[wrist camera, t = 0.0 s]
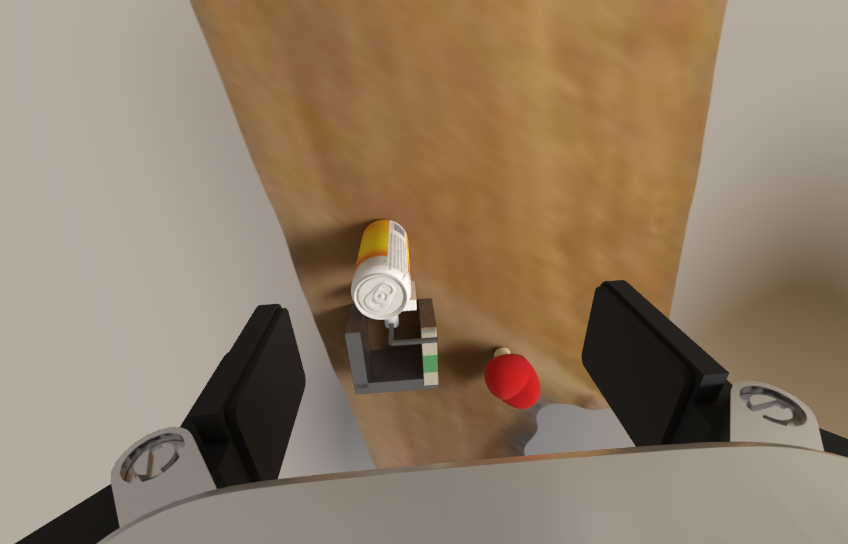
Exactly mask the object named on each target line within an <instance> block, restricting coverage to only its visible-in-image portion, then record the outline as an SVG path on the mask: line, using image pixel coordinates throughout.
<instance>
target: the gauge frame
mask: <svg viewBox="0 0 848 544" xmlns="http://www.w3.org/2000/svg"><path fill="white" fill-rule="evenodd" d="M418 301H419V319H420V336H421V338H430V337H437V329H436V322H435V316H434V309H433V303H432V299H419V300H418ZM345 339H346V344H347V350H348V355H349V361H350V366H351V372H352V377H353V383H354V389H355V394H369V393H381V392H394V391H407V390H419V389H432V388H438V360H437V343H424V344H421V347H415V348H402V349H388V350H375V351H371V347H370V340H369V333H368V326H367V319H366V316H365V315H364V314H362V313H361V312H360V311H359V310H358V308H357V307H356V305H355V304H351V305H350V310H349V315H348V320H347V325H346V329H345Z"/></svg>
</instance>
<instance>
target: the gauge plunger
mask: <svg viewBox="0 0 848 544" xmlns="http://www.w3.org/2000/svg"><path fill="white" fill-rule="evenodd" d="M411 310H417V304H416V291H415V281H411V297H410V300H409V302H408V304H407V305H406V306H405V308H404V309H403V311H411ZM384 321H385V327H387V328H389V345H391V346H397V345H411V344H424V343H438V339H437V337H430V338H417V339H403V340H394V328H396V327H398V326H399V317H398V315H397V316H395V317H393V318H390V319H386V320H384Z"/></svg>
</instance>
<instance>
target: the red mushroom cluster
mask: <svg viewBox="0 0 848 544" xmlns="http://www.w3.org/2000/svg"><path fill="white" fill-rule="evenodd" d="M494 357H495V358H493V359H492V360H490V362H489V363H488V364H487V366H486V369H485V382H486V385H487V387H488V389H489V390H490V392H491V393H492V394H493V395H494V396H496V397H497V398H499V399H501V400H502V401H503V402H505V403H507V404H508V405H510V406H512V407H515V408H518V409H527V408H529V407H531V406H533V405H534V404H535V403H536V402H537V400H538V399H539V396H540V383H539V379H538V376H537V374H536V372H535V370H534V369H533V367H532V366H531V364H530V363H529V362H528V361H527V360H526V359H525V358H524V357H523V356H521V355H518V354H511V353H510V351H509V350H508V349H507V348H499V349H497V350H496V351H495V353H494Z"/></svg>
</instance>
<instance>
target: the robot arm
mask: <svg viewBox="0 0 848 544" xmlns="http://www.w3.org/2000/svg"><path fill="white" fill-rule="evenodd" d="M582 362H583V365H584V367H585V369H586V370H587V372H588V373H589V375H590V376H591V378H592V379H593V381H594V382H595V384H596V386H597V387H598V389H599V390H600V392H601V393H602V395H603V396H604V398H605V399H606V401H607V403H608V404H609V406H610V407H611V409H612V410H613V412H614V413H615V415H616V416H617V418H618V419H619V421H620V423H621V424H622V426H623V427H624V429H625V430H626V432H627V433H628V435H629V436H630V438H631V439H632V441H633V443H634V444H635V446H636V447H628V448H616V449H604V450H593V451H581V452H580V451H579V452H567V453H554V454H543V455H531V456H519V457H507V458H496V459H484V460H473V461H461V462H450V463H438V464H427V465H416V466H406V467H395V468H384V469H373V470H362V471H351V472H341V473H331V474H321V475H312V476H303V477H293V478H284V479H278V476H279V472H280V469H281V466H282V463H283V459H284V456H285V452H286V449H287V446H288V442H289V439H290V436H291V432H292V429H293V426H294V422H295V419H296V416H297V412H298V409H299V405H300V402H301V399H302V395H303V392H304V389H305V374H304V370H303V366H302V362H301V358H300V354H299V351H298V347H297V343H296V339H295V335H294V331H293V328H292V324H291V320H290V316H289V312H288V310H287V309H286V308H281V306H280V305H279V304H271V305H259V306H258V307H257V308H256V309H255V311H254V313H253V314H252V316H251V317H250V319H249V321H248V323H247V324H246V325H245V327H244V329H243V330H242V332H241V334H240V335H239V337H238V339H237V340H236V342H235V343H234V345H233V347H232V348H231V350H230V351H229V353H227V354H226V355H225V356H224V357H223V359H222V360H221V362H220V364H219V366H218V367H217V369H216V370H215V372H214V373H213V375H212V377H211V378H210V380H209V381H208V383H207V385H206V386H205V388H204V389H203V391H202V393H201V394H200V396H199V397H198V399H197V401H196V402H195V404H194V405H193V407H192V409H191V410H190V412H189V414H188V415H187V417H186V418H185V420H184V421H183V423H182V425H181V426H180V427H169V428H165V429H161V430H158V431H156V432H153V433H151V434H149V435H146V436H145V437H143V438H142V439H140V440H138V441H137V442H135V443H134V444H133V445H132V446H131V447H129V448H128V449H127V450H126V451H125V452H124V453H123V454H122V455H121V457H120V458H119V459H118V460H117V461H116V463H115V465H114V467H113V469H112V472H111V484H110V485H108V486H107V487H105V488H104V489H102V490H101V491H99V492H97V493H96V494H94V495H93V496H91V497H89V498H88V499H86V500H85V501H83V502H81V503H80V504H78V505H76V506H75V507H73V508H71V509H70V510H68V511H67V512H65V513H63V514H62V515H61V516H59V517H57V518H56V519H54V520H52V521H51V522H49V523H47V524H46V525H44V526H43V527H41V528H39V529H38V530H36V531H34V532H33V533H31V534H30V535H28V536H26V537H25V538H23V539H22V540H20V541H18V542H17V543H15V544H848V439H846V438H844V437H841V436H838V435H836V434H833V433H830V432H828V431H825V430H823V429H820V428H819V427H818V422H817V419H816V418H815V415H814V413H813V412H812V411H811V410H810V409H809V408H808V407H807V405H805V404H804V403H803V402H802V401H800V400H799V399H798V398H796V397H795V396H793V395H791V394H789V393H787V392H785V391H784V390H782V389H779V388H777V387H774V386H771V385H768V384H764V383H760V382H754V381H742V382H738V383H736V384H734V385H732V384H731V383H730V382H729V381H728V380H726V379H727V377H728V375H729V372H728V371H726V370H725V369H724V368H723V367H722V366H721V365H720V364H718V363H717V362H716V361H715V360H714V359H713V358H712V357H711V356H710V355H708V354H707V353H706V352H705V351H704V350H703V349H702V348H701V347H699V346H698V345H697V344H696V343H695V342H694V341H693V340H691V339H690V338H689V337H688V336H687V335H686V334H685V333H684V332H682V331H681V330H680V329H679V328H678V327H677V326H676V325H674V324H673V323H672V322H671V321H670V320H669V319H668V318H667V317H666V316H664V315H663V314H662V313H661V312H660V311H659V310H658V309H657V308H655V307H654V306H653V305H652V304H651V303H650V302H649V301H648V300H646V299H645V298H644V297H643V296H642V295H641V294H640V293H639V292H637V291H636V290H635V289H634V288H633V287H632V286H631V285H630V284H628V283H627V282H626V281H624V280H618V281H604V282H603V283H602V284H601V286H599V287H597V288H596V290H595V294H594V299H593V303H592V308H591V313H590V317H589V322H588V327H587V332H586V336H585V341H584V346H583V351H582Z"/></svg>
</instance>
